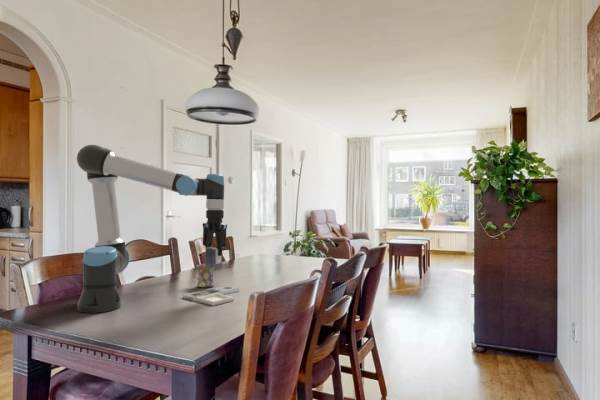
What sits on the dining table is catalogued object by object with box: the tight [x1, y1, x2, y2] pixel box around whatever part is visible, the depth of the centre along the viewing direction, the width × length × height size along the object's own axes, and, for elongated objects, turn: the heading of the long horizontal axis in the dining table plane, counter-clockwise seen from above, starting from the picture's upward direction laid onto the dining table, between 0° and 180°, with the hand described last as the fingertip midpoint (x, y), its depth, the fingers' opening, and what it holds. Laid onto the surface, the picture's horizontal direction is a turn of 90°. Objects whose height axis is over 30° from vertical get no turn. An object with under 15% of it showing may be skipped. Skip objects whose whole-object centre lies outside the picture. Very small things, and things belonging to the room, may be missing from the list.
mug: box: [190, 263, 215, 289], centre depth 199 cm, size 12×9×11 cm
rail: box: [182, 285, 241, 302], centre depth 182 cm, size 26×8×2 cm, turn 141°
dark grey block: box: [205, 247, 223, 269], centre depth 175 cm, size 5×5×8 cm
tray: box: [195, 293, 235, 307], centre depth 170 cm, size 11×11×2 cm
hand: (213, 262), depth 175 cm, fingers closed on dark grey block, 5 cm apart
